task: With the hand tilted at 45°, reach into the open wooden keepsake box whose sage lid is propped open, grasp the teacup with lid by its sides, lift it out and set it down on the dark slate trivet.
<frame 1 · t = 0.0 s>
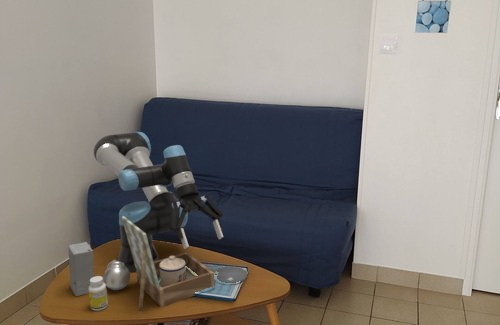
hand: (204, 242, 159), 15 cm above the table, tool tilted 35°, fingers open, 13 cm apart
open wooden keepsake box: (175, 285, 162), on the table
trivet: (230, 276, 167), on the table
silver metal rounded piece: (118, 288, 160), on the table
skincare box: (83, 290, 160), on the table
teacup with lid: (175, 285, 162), resting in open wooden keepsake box
supplement bottle: (99, 307, 149), on the table
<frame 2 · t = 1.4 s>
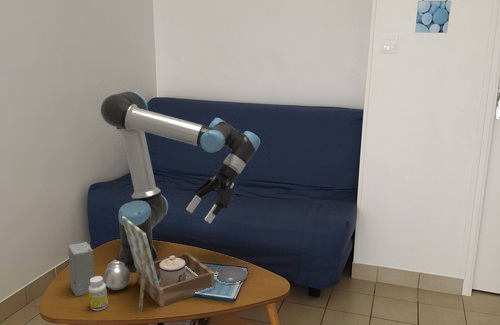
hand: (197, 216, 166), 22 cm above the table, tool tilted 45°, fingers open, 13 cm apart
nothing on the table moved.
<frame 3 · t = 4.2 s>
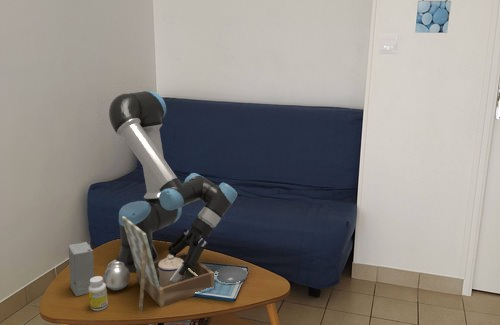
hand: (166, 276, 158), 5 cm above the table, tool tilted 45°, fingers closed on teacup with lid, 9 cm apart
teacup with lid: (174, 285, 162), resting in open wooden keepsake box, touching gripper
everything else where it was.
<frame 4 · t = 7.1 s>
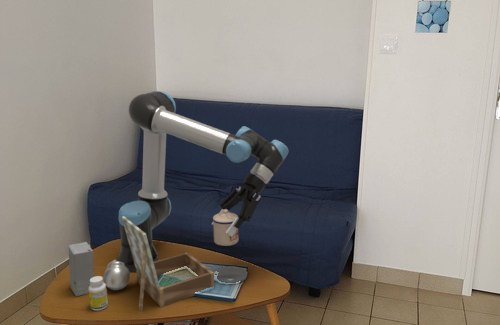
hand: (221, 230, 161), 19 cm above the table, tool tilted 45°, fingers closed on teacup with lid, 9 cm apart
teacup with lid: (227, 239, 165), point 14 cm above the table, touching gripper
everything else where it was.
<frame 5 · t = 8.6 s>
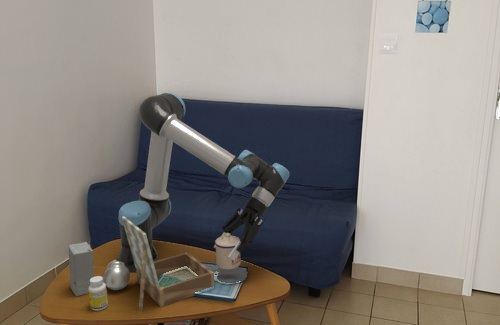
hand: (223, 253, 163), 10 cm above the table, tool tilted 45°, fingers closed on teacup with lid, 9 cm apart
teacup with lid: (229, 262, 167), point 5 cm above the table, touching gripper
everything else where it was.
when the fingers open (6 cm above the table, at t = 9.9 s): teacup with lid stays where it is, resting on trivet.
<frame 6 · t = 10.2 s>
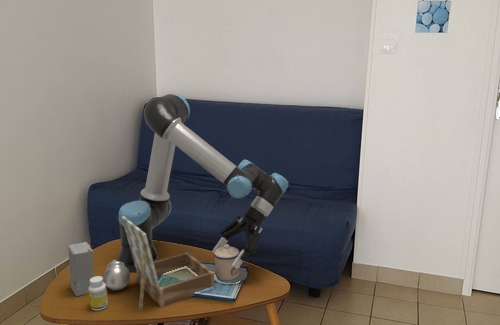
hand: (224, 260, 164), 7 cm above the table, tool tilted 45°, fingers open, 13 cm apart
teacup with lid: (228, 273, 168), point 1 cm above the table, touching trivet
everything else where it was.
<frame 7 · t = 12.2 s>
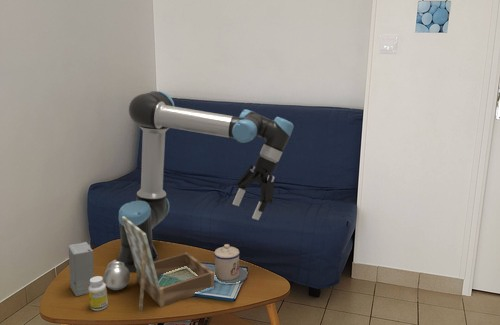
hand: (244, 211, 170), 22 cm above the table, tool tilted 25°, fingers open, 13 cm apart
nothing on the table moved.
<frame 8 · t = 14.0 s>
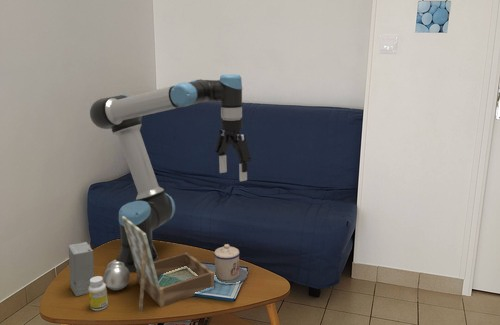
hand: (232, 176, 169), 35 cm above the table, tool pointing down, fingers open, 13 cm apart
nothing on the table moved.
at the end: teacup with lid 1.0 cm from the trivet (horizontally); teacup with lid tilted 0°; the gripper is holding nothing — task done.
